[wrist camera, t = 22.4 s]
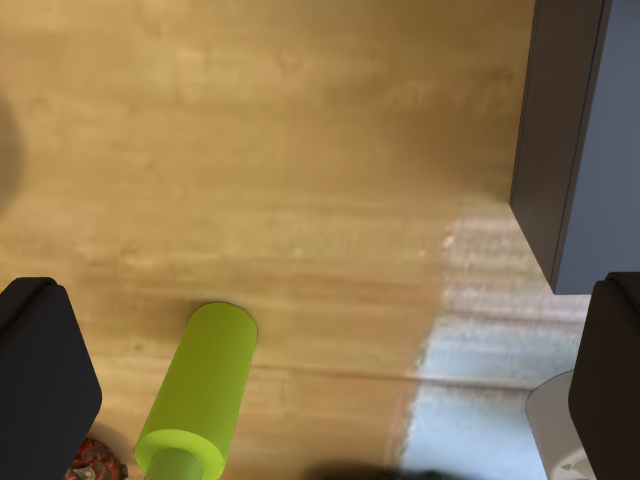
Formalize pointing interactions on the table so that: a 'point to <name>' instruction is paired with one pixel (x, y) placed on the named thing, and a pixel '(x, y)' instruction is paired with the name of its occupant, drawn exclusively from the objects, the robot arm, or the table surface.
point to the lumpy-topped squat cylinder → (557, 431)
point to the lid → (605, 162)
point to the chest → (552, 119)
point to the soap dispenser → (199, 397)
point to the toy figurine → (429, 479)
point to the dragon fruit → (95, 463)
